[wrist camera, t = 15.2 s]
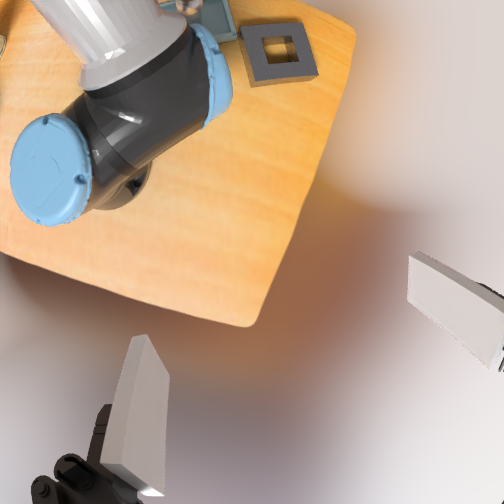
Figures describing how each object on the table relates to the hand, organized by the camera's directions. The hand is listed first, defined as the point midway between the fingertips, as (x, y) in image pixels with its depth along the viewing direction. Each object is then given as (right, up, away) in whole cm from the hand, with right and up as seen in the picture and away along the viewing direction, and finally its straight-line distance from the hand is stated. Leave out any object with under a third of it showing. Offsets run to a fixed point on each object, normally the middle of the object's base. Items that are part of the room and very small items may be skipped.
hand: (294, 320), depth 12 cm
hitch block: (+2, +37, +27) cm, 46 cm away
